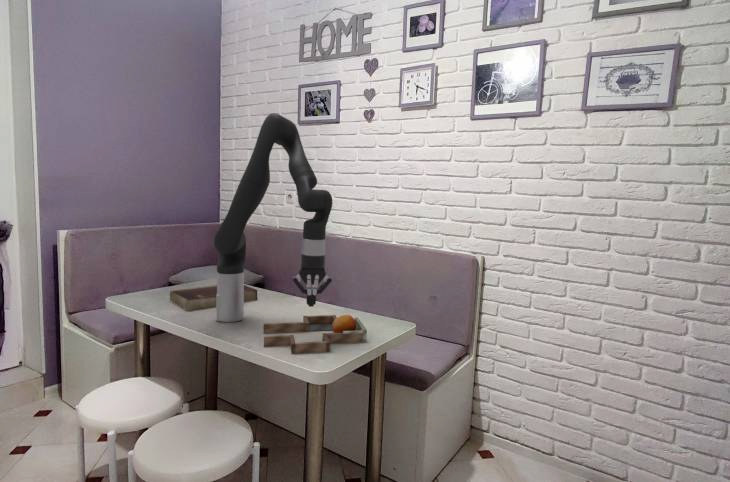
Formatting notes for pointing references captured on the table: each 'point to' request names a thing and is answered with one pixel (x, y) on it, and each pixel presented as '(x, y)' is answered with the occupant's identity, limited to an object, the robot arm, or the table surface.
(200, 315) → the table surface
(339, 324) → the fruit
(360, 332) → the trap box
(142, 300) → the table surface
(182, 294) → the latched wooden chest
